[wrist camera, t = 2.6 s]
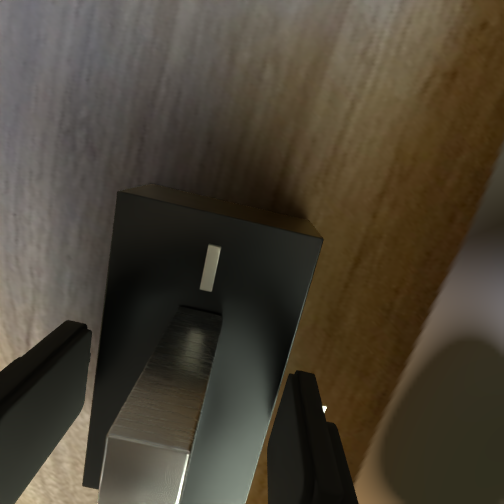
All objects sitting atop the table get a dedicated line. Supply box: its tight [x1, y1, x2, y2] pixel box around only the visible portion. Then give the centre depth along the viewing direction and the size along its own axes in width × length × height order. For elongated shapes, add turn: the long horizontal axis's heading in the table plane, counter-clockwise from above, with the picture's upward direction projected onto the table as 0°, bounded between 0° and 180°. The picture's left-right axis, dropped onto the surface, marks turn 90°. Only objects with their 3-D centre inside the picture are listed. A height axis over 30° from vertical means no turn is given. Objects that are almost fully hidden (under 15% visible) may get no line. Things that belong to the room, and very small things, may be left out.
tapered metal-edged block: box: [97, 307, 223, 504], centre depth 8 cm, size 5×1×5 cm, turn 167°
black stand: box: [82, 184, 327, 504], centre depth 12 cm, size 11×9×3 cm
